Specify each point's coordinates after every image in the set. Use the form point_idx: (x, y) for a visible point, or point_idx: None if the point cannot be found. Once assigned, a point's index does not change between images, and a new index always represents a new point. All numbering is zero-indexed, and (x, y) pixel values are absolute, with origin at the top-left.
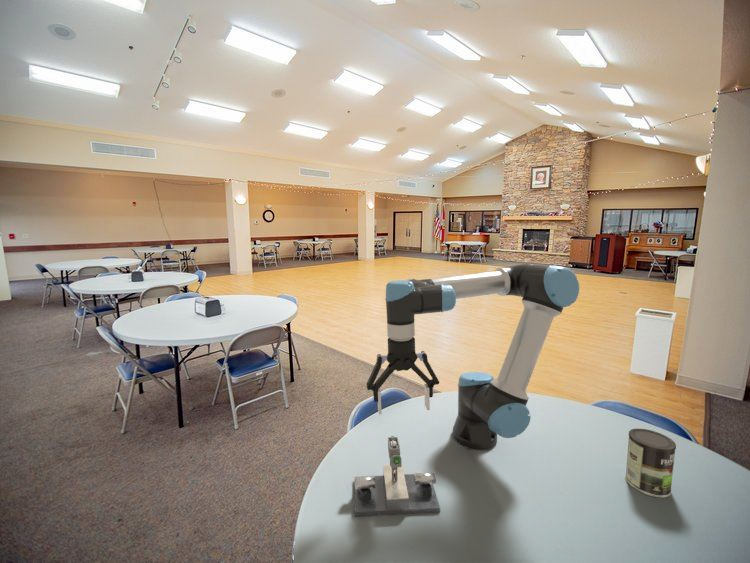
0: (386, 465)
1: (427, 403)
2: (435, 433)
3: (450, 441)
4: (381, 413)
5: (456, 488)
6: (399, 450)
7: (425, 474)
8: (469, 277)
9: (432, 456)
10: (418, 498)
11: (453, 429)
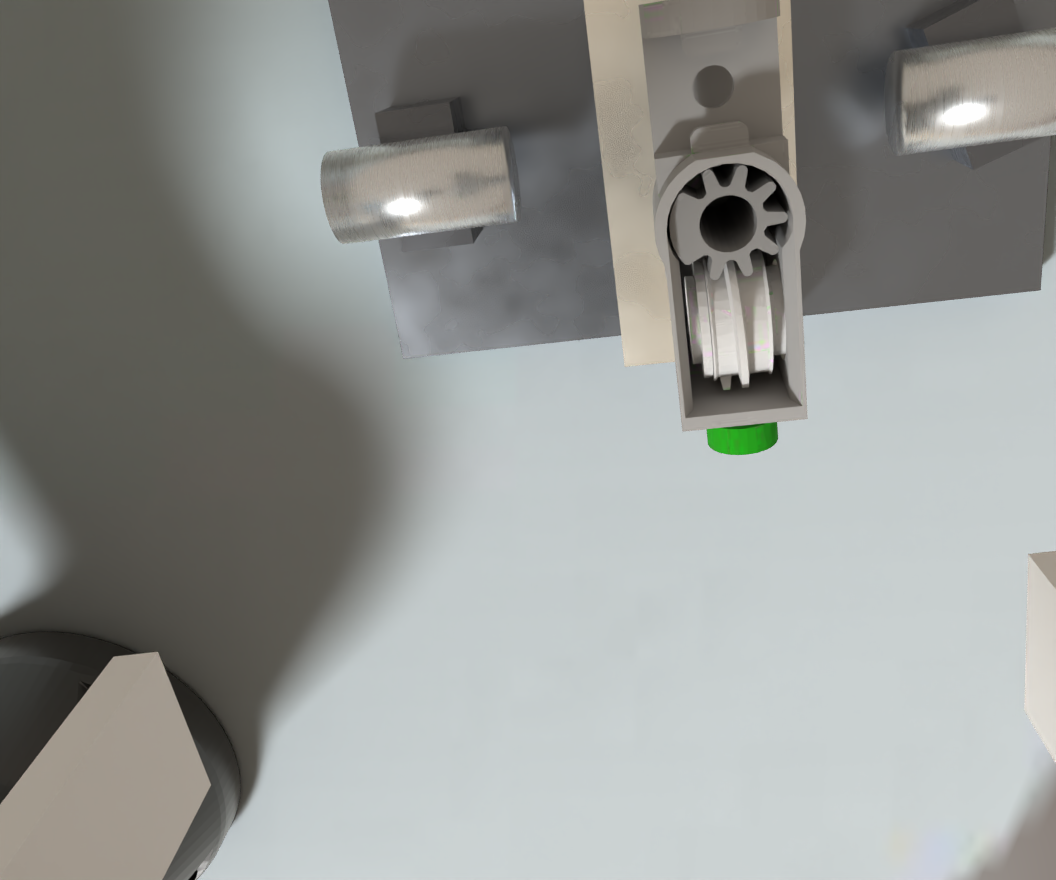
0: None
1: (86, 740)
2: (364, 801)
3: (257, 719)
4: (1035, 559)
5: (212, 238)
6: (660, 190)
7: (408, 189)
8: None
9: (388, 567)
10: (496, 65)
11: (213, 809)
